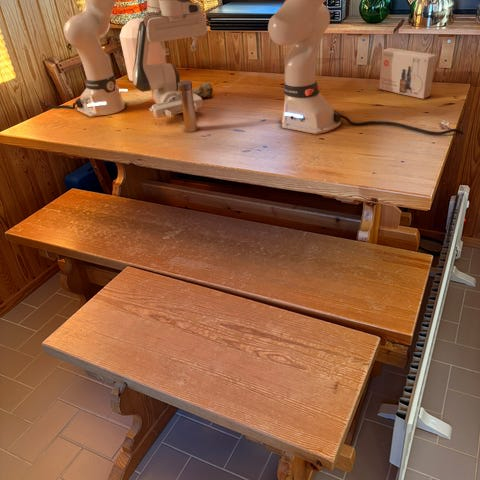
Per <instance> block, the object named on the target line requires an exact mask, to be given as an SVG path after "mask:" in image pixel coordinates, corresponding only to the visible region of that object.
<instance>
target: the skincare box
mask: <svg viewBox="0 0 480 480" xmlns="http://www.w3.org/2000/svg"><path fill="white" fill-rule="evenodd" d="M436 57H437V54H435V53H427V52H423V51H422V52H420V51H413V50H407V49H400V48H395V47H394V48H393V47H387V48H385V49H382V50H381V61H380V74H379V86H378V87H379V88H378V89H379V90H383V91H387V92H391V93H395V94H399V95H405V96H409V97H414V98H418V99H422V100H424V99H426V98H428V97H430V96H431V91H432V86H433V85H432V84H433V78H434V73H435V72H434V71H435V70H434V69H435V64H436Z"/></svg>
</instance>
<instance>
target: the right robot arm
mask: <svg viewBox="0 0 480 480" xmlns="http://www.w3.org/2000/svg"><path fill="white" fill-rule="evenodd" d="M326 1H327V0H284V2H283V4H282V5H281V7H280V8H279V9H278V10H277V11H276V12H275V13H274V14H273V15H272V16H271V17H270V19H269V21H268V24H267V32H268V36H269V38H270V40H271V41H272V43H274V44H275V45H276V46H290V49H289V52H288V53H287V55H286V56H285V58H284V62H283V67H284V68H283V69H284V82H283V89H282V90H283V94H284V103H283V111H282V116H281V120H280V121H281V128H282V129H288V130H292V131H298V132H303V133H309V134H313V135H314V134H315V135H319V134H324V133H328V132H331V131H332V130H335V129H337V128H338V127H339V126H340V125H341V124H342V119H344V120H346V122H347V123H348V124H349V125H351V126H365V125H388V126H389V125H390V126H396V127H402V128H405V129H408V130H411V131H415V132H420V133H423V134H427V135H433V136H441V135H446V134H450V133H458V134H459V135H463V136H464V135H465V133H464V132H463V130H461V129H458V128H451V129H447V130H443V131H432V130H427V129H422V128H419V127H414V126H411V125H408V124H404V123H399V122H394V121H384V120H367V121H361V122H354V121H352V120H350V118H349V117H347V116H346V115H343V114H342V113H340V112H339V111H338V110H336V109H335V108H334V106H333V105H332V104H331V103H330V102H329V101H328V100H327V99H326V98H325V97H324V96H323V95H322V94H321V93H320V90H321V89H322V86H323V85H322V84H320V85H319V84H318V81H317V59H318V54H319V49H320V45H321V42H322V39H323V36H324V34H325V32H326V31H327V29H328V27H329V26H330V22H331V14H330V10H329V8H328V7H327V6H326V5H325V4H324V3H325V2H326ZM159 5H160V10H158V11H153V12H147V11H146V13H147V14H146V13H145V14H144V15H143V17H142V18H143V20H144V24H145V26H146V27H147V38H148V40H149V41H150V42H151V43H155V42H159V44H160V45H161V47H162V48H163V49H164V54H165V56H169V55H170V51H169V48H167V47H165V42H167V41H168V42H169V41H174V40H180V39H181V40H183V39H188V38H192V40H193V41H192V44H190V45H189V46H190V51H191V52H195V51H197V49H196V46H197V43H198V40H199V39H198V38H199V37H201V36H206V35H207V33H208V26H207V20H206V17H205V15H204V14H203V13H202V6H201V4H199V3H196V2H193V1H192V0H159ZM146 15H148V16H146ZM163 45H164V46H163ZM459 197H460V193H458V194H457V195H456V196H455V197H454V198H455V199H454V202H453V206H452V211H451V215H450V220H449V224H448V229H447V234H446V238H445V244H448V245H449V242H450V236H451V231H452V228H453V224H454V219H455V214H456V212H457V211H456V210H457V207H458V202H459Z"/></svg>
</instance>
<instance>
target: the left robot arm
mask: <svg viewBox="0 0 480 480" xmlns="http://www.w3.org/2000/svg"><path fill="white" fill-rule="evenodd" d="M116 2H117V0H84V7H83V9H82V11H81V12H80V13H78V14H75V15H72V16H70V18H69V19H68V20H67V21H66V22H65V23H64V25H63V35H64V37H65V40H66V41H67V42H68V43H69V44H70V45H72V46H73V48H74V49H75V51H76V52H77V54H78V56H79V58H80V61H81V63H82V67H83V70H84V74H85V79H84V82H83V83H85V89H84V91H83V92H82V93H81V95H80V96H79V97H78V98H77V99H76V100H75V102H73V103H72V106H71V105H67V104H61V105H54V104H49V103H48V104H46V105H45V106H44V109H47V108H49V107H50V108H52V109H61V108H67V109H71V110H74V109H77V111H78V112H80V113H82V114H84V115H86V116H88V117H91V118H92V117H93V118H94V117H98V116H107V115H109V116H110V115H113V114H116V113H119V112H121V111H123V110H124V109H125V108H126V106H125V105H126V101H125V100H123V95H122V93H121V92H128V89H127V88H126V89H125V88H120V87H119V86H118V85H117V81H116V76H115V74H114V72H113V68H112V63H111V60H110V56H109V54H108V53H106V52H105V50H104V48H103V47H102V45H101V42H100V40H101V39H102V38H104V37H105V36H106V35H107V33H108V32H109V30H110V28H111V17H112V12H113V10H114V7H115V4H116ZM158 10H160V5H159V0H146V13H145V14H147V12H153V11H158ZM146 16H148V15H146ZM149 44H150V41H149V40H148V38H147V27H146V26H145V24H144V20H143V21H142V22H140V25H139V28H138V35H137V44H136V54H135V63H134V68H133V74H132V80H133V81H132V83H133V84H132V85H133V86H134V87H135V88H136V89H137V90H138V91H140V92H141V93H144V92H149V91H151V97H152V99H153V102H154V104H152V105H151V107H149V108H148V111H149V112H151V113H152V114H153V117H154V118H156V119H161V118H165V117H170V118H173V117H175V116H176V115H177V114H181V113H182V114H183V110H182V104H181V97H180V91H179V89H178V82H180V81H181V80H180V73H179V71H178V70H177V68H176V67H175V66H174V65H173V63H171V62H168V63H167V62H166V63H164V64H153V65H147V56H148V47H149ZM193 100H194V107H195V112H197V111H198V109H201V108H203V107H204V102H203V98H201V97H200V96H198V95H196V94H193Z"/></svg>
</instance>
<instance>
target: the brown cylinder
mask: <svg viewBox="0 0 480 480" xmlns="http://www.w3.org/2000/svg"><path fill="white" fill-rule="evenodd" d="M192 89H193V88H192ZM192 89H190V90H185V91H181V90H179V89H178V91H180V97H181V104H182V110H183V112H182V116H183V122H184V128H185V132H189V133H192V132H196V131H197V130H198V122H197V115H196V111H195V107H194V100H193V93H192Z"/></svg>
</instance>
